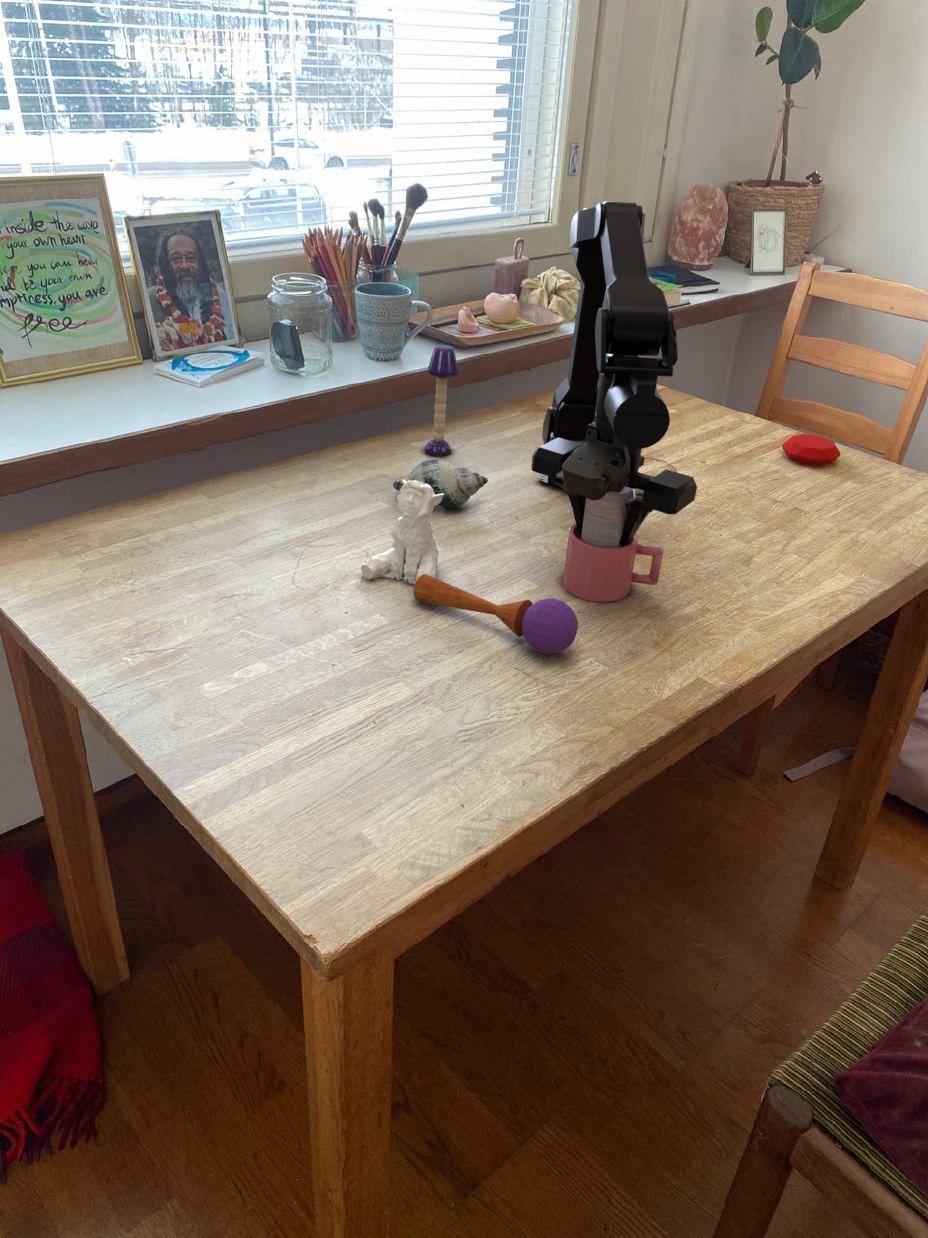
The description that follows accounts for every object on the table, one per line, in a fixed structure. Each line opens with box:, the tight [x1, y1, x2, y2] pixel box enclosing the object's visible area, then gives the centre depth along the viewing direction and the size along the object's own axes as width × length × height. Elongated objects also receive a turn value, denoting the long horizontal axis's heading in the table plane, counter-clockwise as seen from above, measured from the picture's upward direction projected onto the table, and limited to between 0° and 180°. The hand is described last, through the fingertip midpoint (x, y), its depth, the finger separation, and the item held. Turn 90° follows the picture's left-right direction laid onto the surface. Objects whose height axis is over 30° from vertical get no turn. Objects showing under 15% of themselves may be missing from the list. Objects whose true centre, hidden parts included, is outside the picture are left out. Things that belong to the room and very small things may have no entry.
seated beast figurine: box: [360, 478, 444, 585], centre depth 113 cm, size 10×9×12 cm
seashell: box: [392, 457, 489, 509], centre depth 132 cm, size 6×8×12 cm
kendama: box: [413, 574, 579, 655], centre depth 105 cm, size 6×6×20 cm
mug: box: [562, 522, 665, 603], centre depth 114 cm, size 11×8×7 cm
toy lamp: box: [424, 344, 459, 457], centre depth 146 cm, size 5×5×17 cm
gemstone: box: [781, 433, 841, 468], centre depth 156 cm, size 9×9×3 cm
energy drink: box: [581, 486, 635, 548], centre depth 112 cm, size 5×5×12 cm
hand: (602, 540), depth 113 cm, fingers closed on energy drink, 5 cm apart
